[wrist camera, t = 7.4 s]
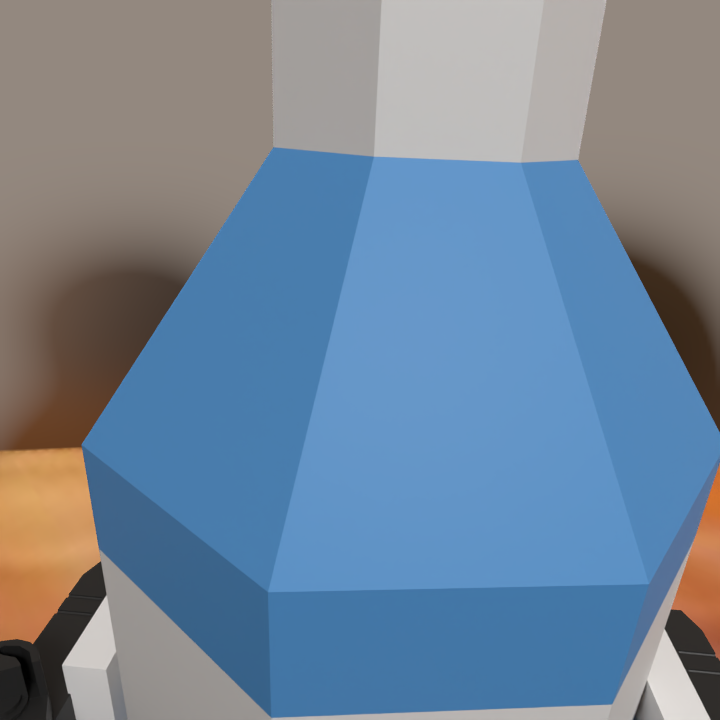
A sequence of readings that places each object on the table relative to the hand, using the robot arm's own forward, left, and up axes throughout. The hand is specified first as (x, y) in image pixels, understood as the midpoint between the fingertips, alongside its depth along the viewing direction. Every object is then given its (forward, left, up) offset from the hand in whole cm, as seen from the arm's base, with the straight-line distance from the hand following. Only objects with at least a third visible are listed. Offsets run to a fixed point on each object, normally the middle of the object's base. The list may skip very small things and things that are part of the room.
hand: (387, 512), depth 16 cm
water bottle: (+4, -2, -14) cm, 14 cm away
